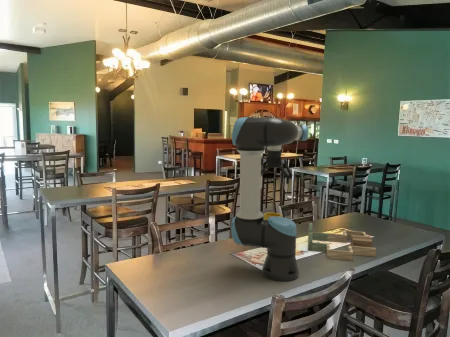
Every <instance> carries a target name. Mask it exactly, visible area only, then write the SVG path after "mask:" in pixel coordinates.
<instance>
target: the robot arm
mask: <svg viewBox="0 0 450 337" xmlns="http://www.w3.org/2000/svg"><path fill="white" fill-rule="evenodd" d="M231 132H232V133H231V141H232V144H233V146H235V147H236V151H237V152H238V153H239V155H240V157H239V158H240V159H239V165H240V166H239V169H240V170H239V174H240V175H239V210H238V212H236V214H235V216H234V217H232V220H231V227H230V229H231V230H230V231H231V238H232V241H233V242H234V243H235V244H237V245H241V246H244V247H252V248H253V247H254V248H262V249H266V250H267V252H266V257H265V260H264V263H263V265H262V275H263V276H264V277H265V278H267V279H270V280H273V281H277V282H289V281H294V280H296V279H298V278H299V276H300V269H299V268H300V267H299V265H298V262H297V258H296V251H297V250H296V248H297V247H296V245H297V235H298V234H297V225H296V223H295V222H294V221H293V220H292V219H289V218H287V217H283V216H282V217H278V216H276V217H275V216H272V217H269V218H268V220H264V213H263V212H262V211H261V189H262V188H263V176H262V175H263V174H264V173H265V172H266V171H267V170H268V169H269V167H270V168H278V169H279V170H280V172H282V174H283V175H284V177H285V178H284V188H283V189H284V191H286V190H287V188H288V184H289V183H290V178H292V177H293V173H292V170H291V169H290V167H289V164H288V159H282V151H281V150H282V146H285V145H288V144H292V143H293V142H294V141H308V138H309V126H308V125H305V124H304V125H303V124H296V123H294V122H293V121H290V120H287V119H284V118H278V117H263V116H261V117H260V116H259V117H257V116H251V117H250V116H245V117H239V118H237V119H236V121H235V122H234V125H233V128H232V131H231ZM266 148H267V152H266V155H267V156H266V158H262V154H264V153H265V150H266ZM264 163H267V164H266V165H265V167H264V168H263V169H262V167H263V165H264ZM281 164H284V167H285V169H286V170H285V169H284V168H283V167H282V165H281Z"/></svg>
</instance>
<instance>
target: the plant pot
mask: <svg viewBox="0 0 450 337" xmlns="http://www.w3.org/2000/svg"><path fill="white" fill-rule="evenodd" d="M263 215H264V220H268V218H269V217H272V216H275V217H276V216H278V217H283V215H282V214H281V213H279V212H265V213H263Z"/></svg>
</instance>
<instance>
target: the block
mask: <svg viewBox="0 0 450 337" xmlns="http://www.w3.org/2000/svg"><path fill="white" fill-rule="evenodd" d="M350 246H360V247H371V248H373V240H372V238H371V236H370V235H367V236H361V235H351V242H350Z"/></svg>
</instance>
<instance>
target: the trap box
mask: <svg viewBox="0 0 450 337" xmlns="http://www.w3.org/2000/svg"><path fill="white" fill-rule="evenodd" d="M313 226H314V225H313V223H312V222H308V237H307V239H308V240H307V241H308V243H307V244H308V245H307V251H309V252H320V253H321V252H322V253H326V259H331V260H341V261H342V260H343V261H350V262H352V261H353V260H354V256H362V257H363V256H365V257H374V258H376V257H377V254H376V253H377V248H376V247H372V248H371V247H360V246H351V245H348V246H347V250H340V249H339V250H338V249H331V247H330V243H323V242H334V243H335V242H336V243H345V244H346V243H351V235H361V236H368V235H367V234H366V232H365V231H357V230H345V229H343V231H342V234H340V233H328V232H316V231H313V228H314V227H313ZM313 241H314V242H313ZM315 241H320V242H315ZM321 241H323V242H321ZM353 262H354V261H353Z"/></svg>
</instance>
